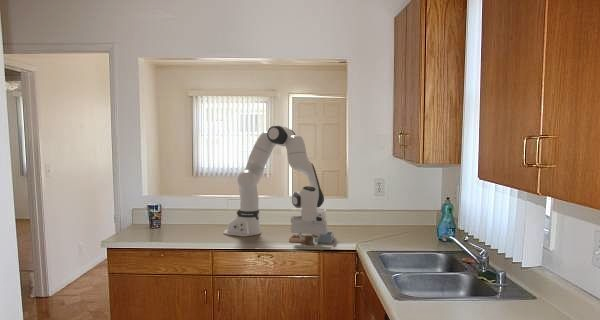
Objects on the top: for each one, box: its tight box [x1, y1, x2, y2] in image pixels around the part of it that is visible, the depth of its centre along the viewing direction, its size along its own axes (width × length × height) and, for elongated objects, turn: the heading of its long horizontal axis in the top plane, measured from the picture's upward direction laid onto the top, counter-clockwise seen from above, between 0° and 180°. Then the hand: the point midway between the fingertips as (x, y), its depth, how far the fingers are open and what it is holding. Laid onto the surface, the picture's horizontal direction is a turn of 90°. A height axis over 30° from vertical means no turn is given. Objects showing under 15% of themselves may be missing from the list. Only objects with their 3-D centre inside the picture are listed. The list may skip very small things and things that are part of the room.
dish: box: [288, 233, 307, 244], centre depth 238 cm, size 9×9×2 cm
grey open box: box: [316, 231, 334, 244], centre depth 236 cm, size 8×8×5 cm
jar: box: [312, 207, 327, 236], centre depth 254 cm, size 11×10×15 cm
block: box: [304, 234, 314, 246], centre depth 231 cm, size 4×4×5 cm
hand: (309, 241), depth 231 cm, fingers open, 7 cm apart
